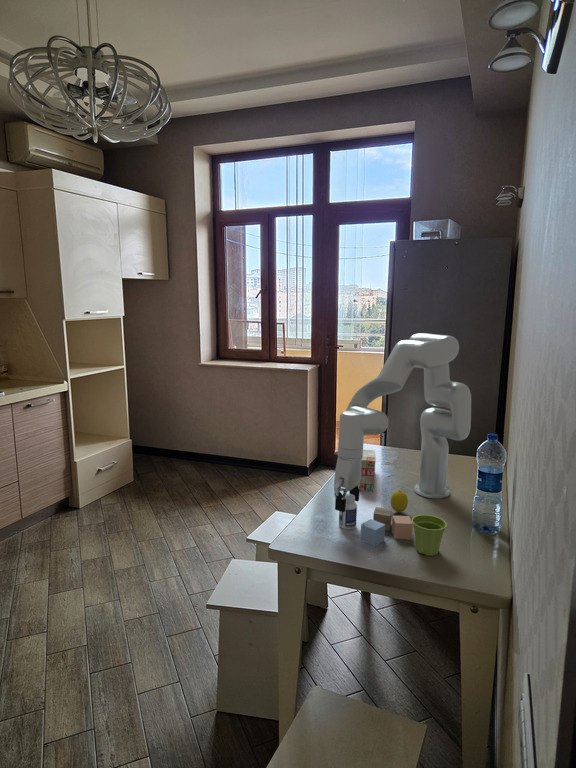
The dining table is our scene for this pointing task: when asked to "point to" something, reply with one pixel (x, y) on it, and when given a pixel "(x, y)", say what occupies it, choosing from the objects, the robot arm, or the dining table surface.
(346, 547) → the dining table surface
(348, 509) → the pill bottle
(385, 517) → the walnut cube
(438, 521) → the plant pot
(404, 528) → the terracotta cube
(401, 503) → the lemon
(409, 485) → the dining table surface
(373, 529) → the slate blue cube
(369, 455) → the stack of blocks
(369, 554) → the dining table surface
